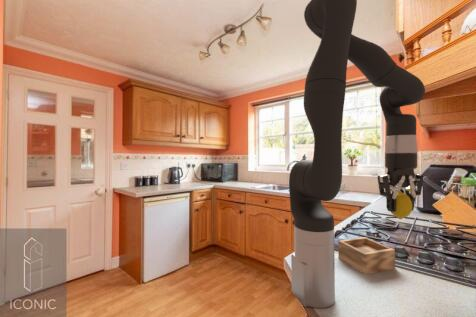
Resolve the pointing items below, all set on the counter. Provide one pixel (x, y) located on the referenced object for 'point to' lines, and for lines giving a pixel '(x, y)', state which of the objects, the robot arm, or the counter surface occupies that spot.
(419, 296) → the counter surface
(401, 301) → the counter surface
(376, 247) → the oak box
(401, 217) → the lemon
